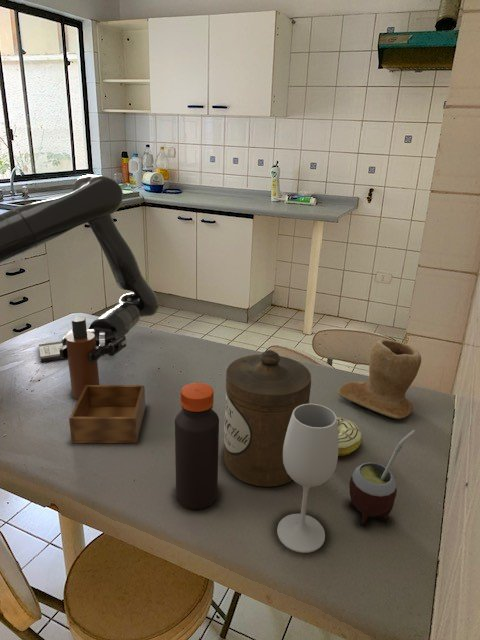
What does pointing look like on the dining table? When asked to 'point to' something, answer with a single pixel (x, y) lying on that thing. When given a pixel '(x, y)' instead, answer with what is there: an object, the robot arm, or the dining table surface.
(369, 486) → the mate gourd
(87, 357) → the sauce bottle
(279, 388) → the wooden container
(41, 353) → the chocolate bar
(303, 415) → the wineglass
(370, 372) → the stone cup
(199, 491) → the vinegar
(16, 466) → the dining table surface
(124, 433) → the wooden box
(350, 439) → the decorated donut
